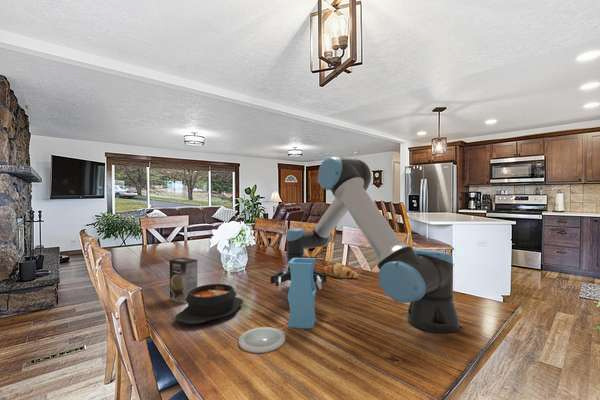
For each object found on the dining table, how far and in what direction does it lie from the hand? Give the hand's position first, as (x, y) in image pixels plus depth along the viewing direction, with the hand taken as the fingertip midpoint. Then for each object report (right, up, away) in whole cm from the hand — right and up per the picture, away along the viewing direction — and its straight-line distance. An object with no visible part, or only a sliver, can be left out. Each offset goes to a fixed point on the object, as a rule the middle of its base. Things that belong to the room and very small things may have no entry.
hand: (300, 285), depth 95 cm
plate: (-11, -11, -15) cm, 21 cm away
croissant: (+20, -11, +51) cm, 56 cm away
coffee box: (-46, -11, +18) cm, 51 cm away
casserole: (-31, -11, +4) cm, 33 cm away
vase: (+1, -11, -3) cm, 12 cm away
